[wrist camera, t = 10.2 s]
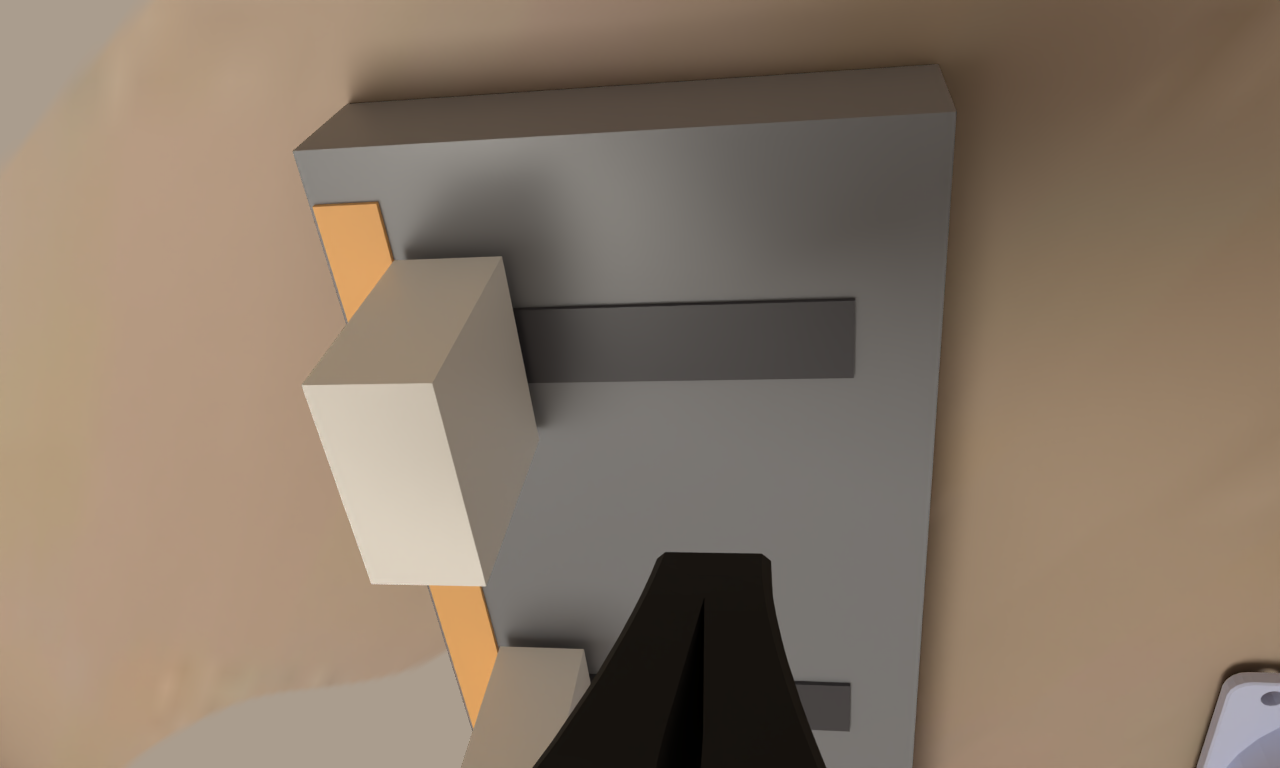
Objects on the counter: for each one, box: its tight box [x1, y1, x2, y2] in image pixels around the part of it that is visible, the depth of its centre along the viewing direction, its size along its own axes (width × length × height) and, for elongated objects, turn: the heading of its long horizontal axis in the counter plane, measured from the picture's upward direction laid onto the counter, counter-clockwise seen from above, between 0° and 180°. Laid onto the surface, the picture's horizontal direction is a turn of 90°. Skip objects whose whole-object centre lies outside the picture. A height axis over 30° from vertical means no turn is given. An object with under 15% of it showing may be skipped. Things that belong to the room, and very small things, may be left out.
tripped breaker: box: [302, 256, 539, 586], centre depth 17 cm, size 2×4×4 cm, turn 6°
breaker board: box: [293, 64, 957, 768], centre depth 25 cm, size 11×28×3 cm, turn 6°
